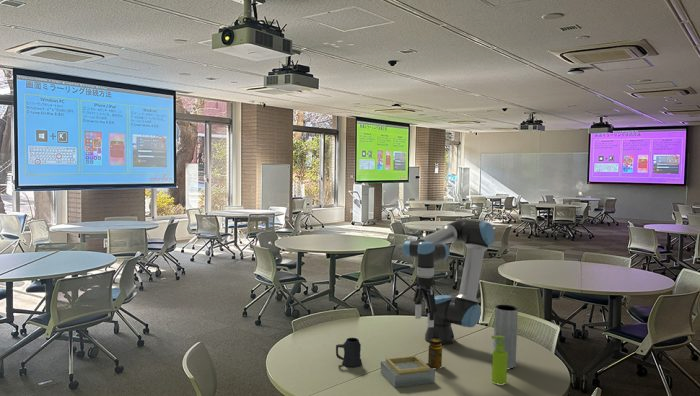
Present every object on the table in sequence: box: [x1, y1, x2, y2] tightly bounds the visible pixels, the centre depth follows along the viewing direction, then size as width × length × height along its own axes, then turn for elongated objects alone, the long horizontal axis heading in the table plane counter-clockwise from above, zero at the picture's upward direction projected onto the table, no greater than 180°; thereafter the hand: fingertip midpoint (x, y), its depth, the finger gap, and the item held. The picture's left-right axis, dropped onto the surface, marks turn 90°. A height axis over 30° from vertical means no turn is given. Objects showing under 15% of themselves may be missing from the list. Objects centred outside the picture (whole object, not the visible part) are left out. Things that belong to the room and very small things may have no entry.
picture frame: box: [380, 355, 436, 389], centre depth 227 cm, size 18×19×6 cm
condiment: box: [425, 339, 443, 371], centre depth 239 cm, size 7×8×12 cm
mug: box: [335, 337, 363, 368], centre depth 240 cm, size 12×9×11 cm
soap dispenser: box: [490, 335, 508, 384], centre depth 221 cm, size 6×7×20 cm
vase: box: [492, 304, 519, 368], centre depth 241 cm, size 10×10×27 cm
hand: (424, 322), depth 239 cm, fingers open, 13 cm apart
